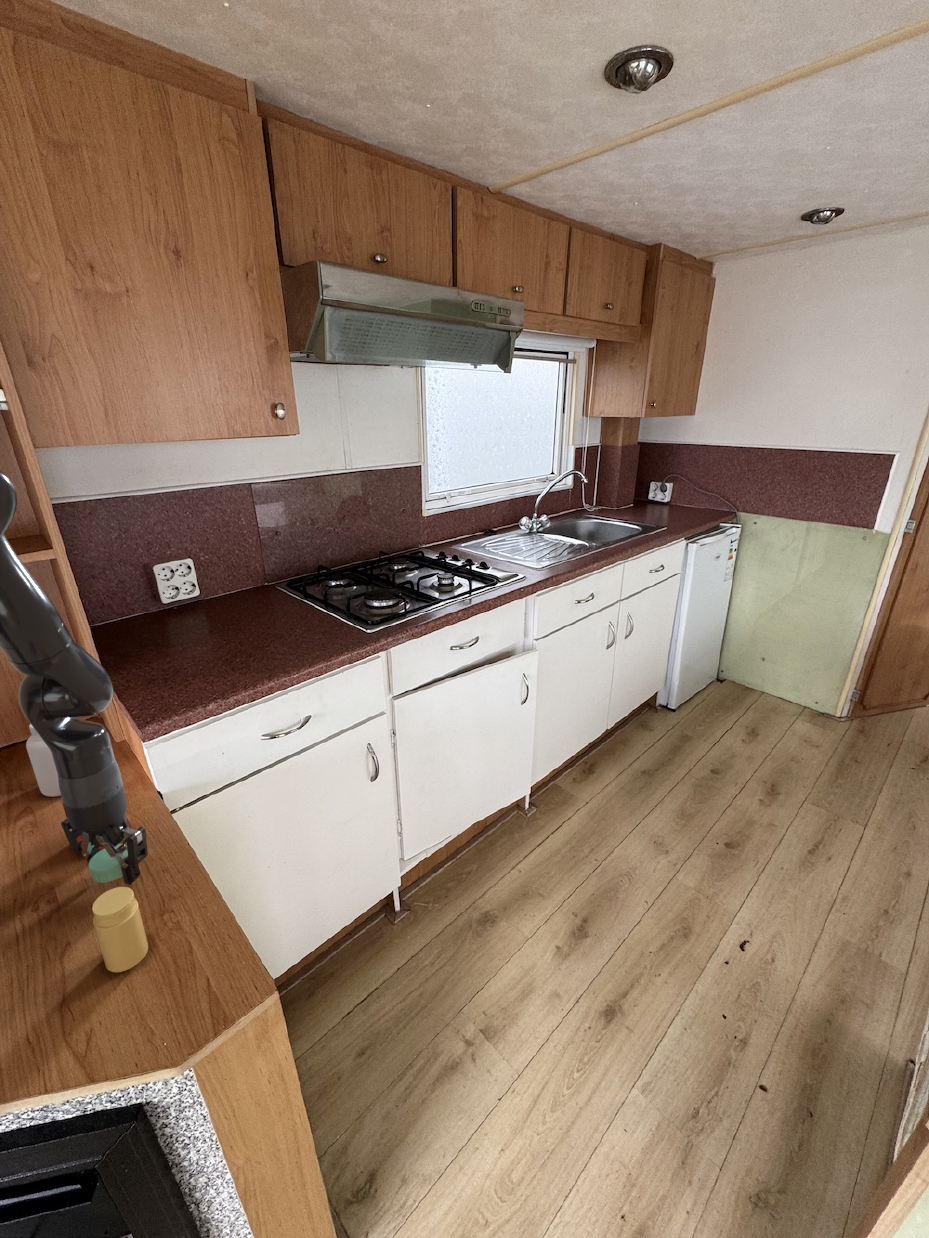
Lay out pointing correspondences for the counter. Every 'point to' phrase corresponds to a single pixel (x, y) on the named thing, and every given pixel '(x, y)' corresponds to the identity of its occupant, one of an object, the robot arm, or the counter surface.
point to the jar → (119, 929)
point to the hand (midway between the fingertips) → (116, 875)
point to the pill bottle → (43, 764)
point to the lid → (105, 866)
